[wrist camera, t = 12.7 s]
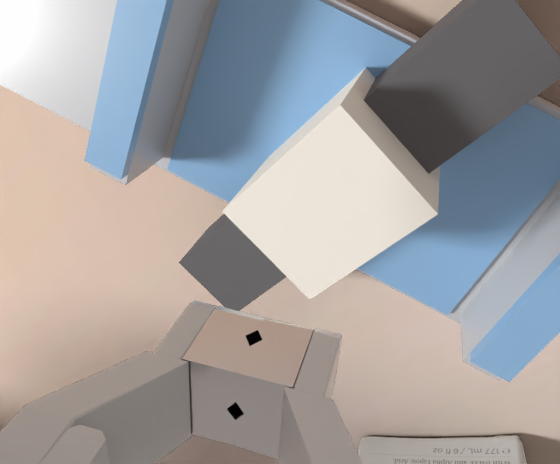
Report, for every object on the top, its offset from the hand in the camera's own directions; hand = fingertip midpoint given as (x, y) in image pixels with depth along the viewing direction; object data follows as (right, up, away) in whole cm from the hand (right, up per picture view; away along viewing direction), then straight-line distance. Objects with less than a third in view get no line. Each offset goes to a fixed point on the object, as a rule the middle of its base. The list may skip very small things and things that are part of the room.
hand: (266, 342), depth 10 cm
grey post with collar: (+3, +5, +9) cm, 11 cm away
